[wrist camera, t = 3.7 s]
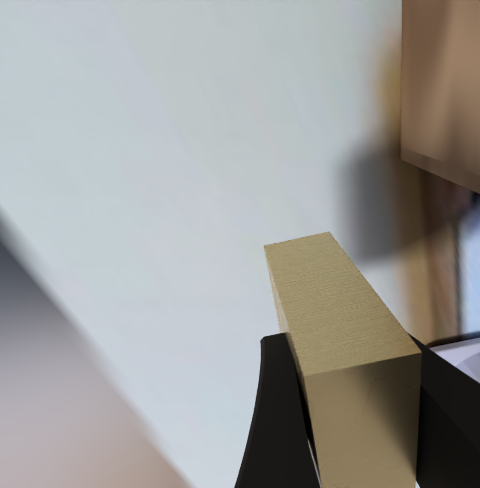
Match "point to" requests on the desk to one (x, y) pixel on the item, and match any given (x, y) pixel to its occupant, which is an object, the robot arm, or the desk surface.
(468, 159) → the walnut coin box
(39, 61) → the desk surface
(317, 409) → the block
